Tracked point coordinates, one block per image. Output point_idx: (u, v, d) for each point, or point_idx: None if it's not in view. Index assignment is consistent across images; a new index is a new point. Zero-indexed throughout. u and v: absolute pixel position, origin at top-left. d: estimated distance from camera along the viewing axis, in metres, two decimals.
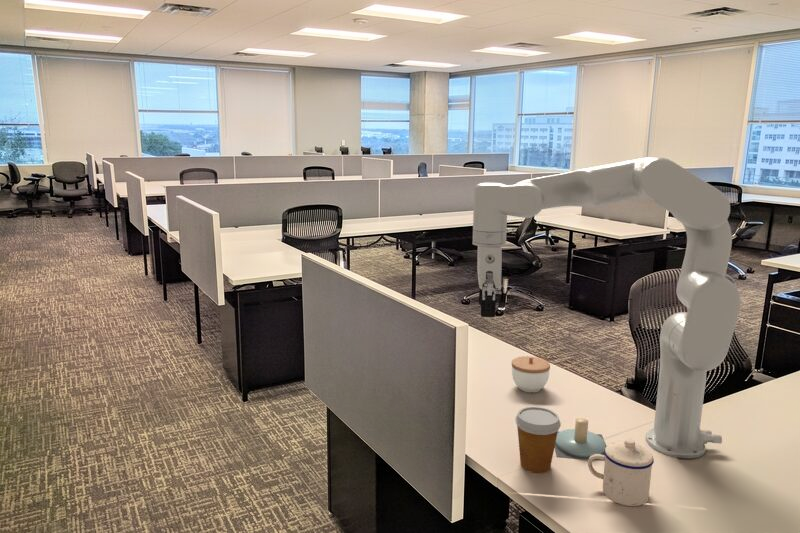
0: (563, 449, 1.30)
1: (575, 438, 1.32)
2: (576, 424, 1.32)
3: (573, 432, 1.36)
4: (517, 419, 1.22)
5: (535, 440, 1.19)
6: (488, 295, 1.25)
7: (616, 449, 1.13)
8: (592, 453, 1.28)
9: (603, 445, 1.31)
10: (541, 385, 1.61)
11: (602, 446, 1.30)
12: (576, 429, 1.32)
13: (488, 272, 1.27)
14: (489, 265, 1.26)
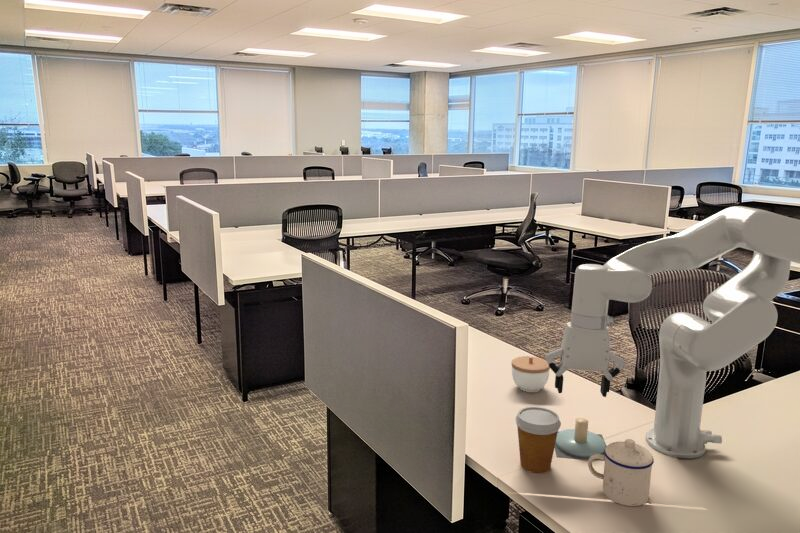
0: (563, 449, 1.30)
1: (575, 438, 1.32)
2: (576, 424, 1.32)
3: (573, 432, 1.36)
4: (517, 419, 1.22)
5: (535, 440, 1.19)
6: None
7: (616, 449, 1.13)
8: (592, 453, 1.28)
9: (603, 445, 1.31)
10: (541, 385, 1.61)
11: (602, 446, 1.30)
12: (576, 429, 1.32)
13: None
14: None
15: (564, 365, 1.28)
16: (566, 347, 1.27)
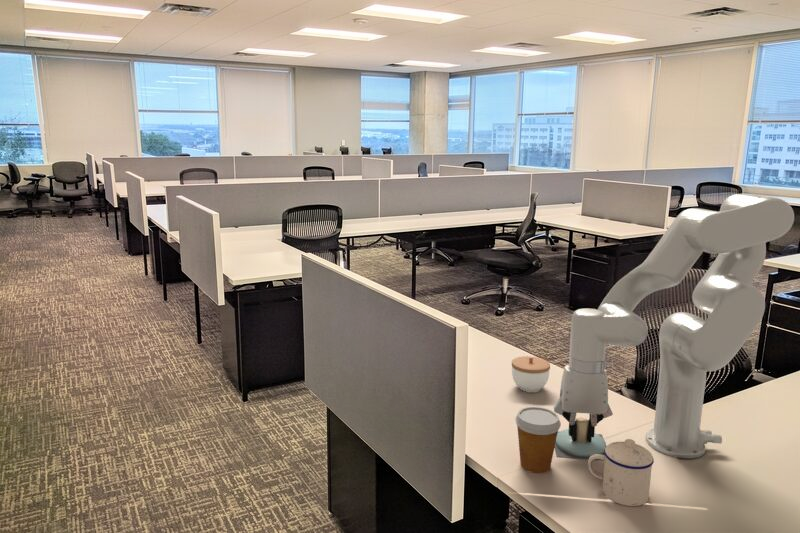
0: (564, 448, 1.30)
1: None
2: (576, 424, 1.32)
3: None
4: (517, 419, 1.22)
5: (535, 440, 1.19)
6: None
7: (616, 449, 1.13)
8: (593, 452, 1.28)
9: (603, 445, 1.31)
10: (541, 385, 1.61)
11: (602, 446, 1.30)
12: None
13: None
14: None
15: (563, 408, 1.30)
16: (565, 391, 1.29)
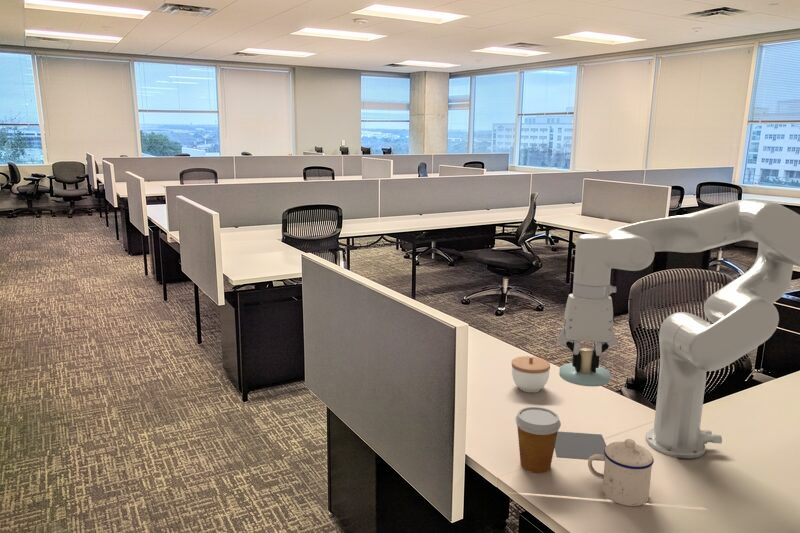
0: (567, 378, 1.26)
1: None
2: (580, 354, 1.28)
3: None
4: (517, 419, 1.22)
5: (535, 440, 1.19)
6: None
7: (616, 449, 1.13)
8: (597, 381, 1.24)
9: (608, 375, 1.27)
10: (541, 385, 1.61)
11: (607, 376, 1.27)
12: None
13: None
14: None
15: (567, 337, 1.26)
16: (569, 318, 1.25)
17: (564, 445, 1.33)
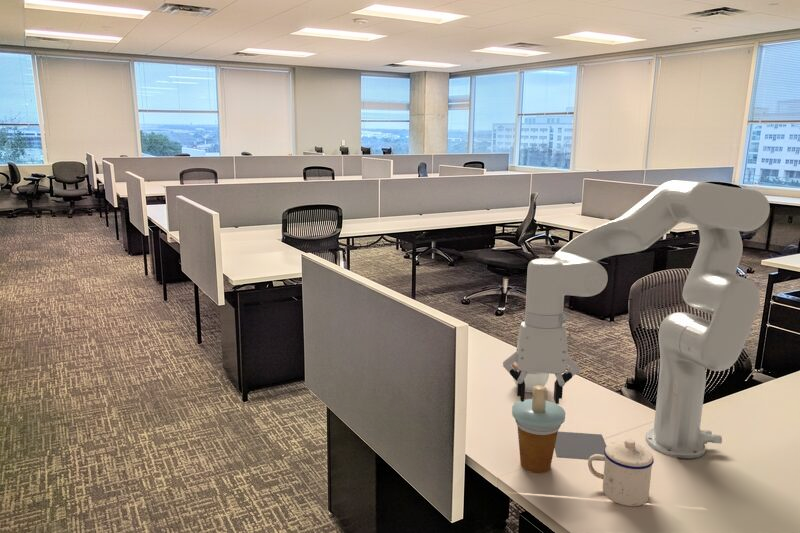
0: (519, 418, 1.19)
1: (533, 407, 1.22)
2: (533, 392, 1.21)
3: (531, 402, 1.26)
4: None
5: (535, 440, 1.19)
6: None
7: (616, 449, 1.13)
8: (550, 422, 1.17)
9: (562, 414, 1.20)
10: (541, 385, 1.61)
11: (561, 415, 1.20)
12: (533, 397, 1.21)
13: None
14: None
15: (519, 368, 1.19)
16: (520, 348, 1.18)
17: (564, 445, 1.33)
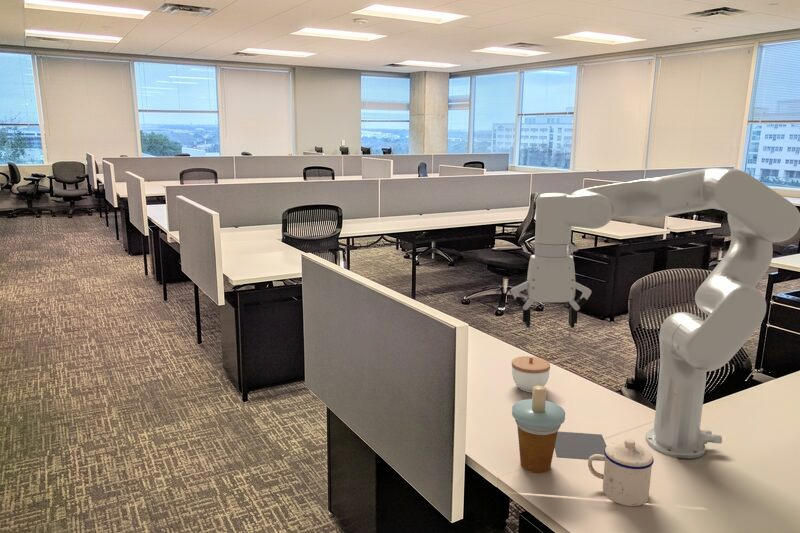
0: (519, 418, 1.19)
1: (532, 407, 1.22)
2: (533, 392, 1.21)
3: (531, 402, 1.26)
4: None
5: (535, 440, 1.19)
6: None
7: (616, 449, 1.13)
8: (550, 422, 1.17)
9: (562, 414, 1.20)
10: (541, 385, 1.61)
11: (561, 415, 1.20)
12: (533, 397, 1.21)
13: (574, 281, 1.26)
14: None
15: (530, 297, 1.26)
16: (531, 279, 1.25)
17: (564, 445, 1.33)
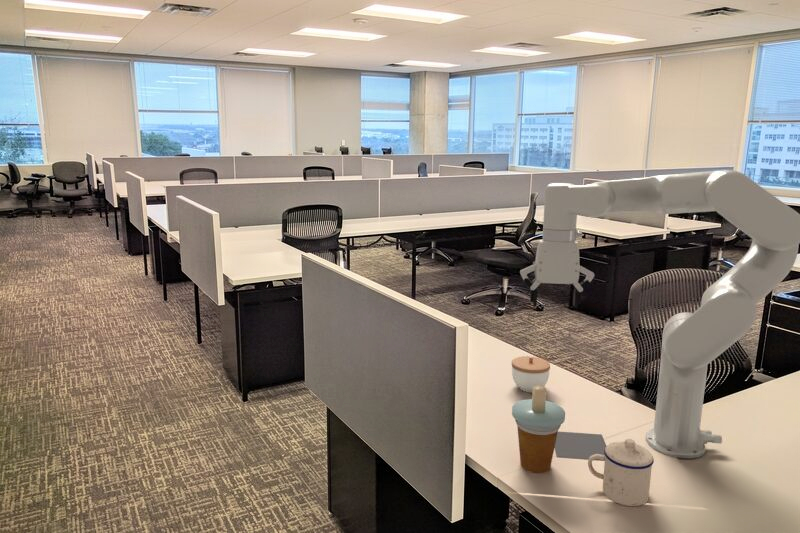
0: (519, 418, 1.19)
1: (532, 407, 1.22)
2: (533, 392, 1.21)
3: (531, 402, 1.26)
4: None
5: (535, 441, 1.19)
6: None
7: (616, 449, 1.13)
8: (550, 422, 1.17)
9: (562, 414, 1.20)
10: (541, 385, 1.61)
11: (561, 415, 1.20)
12: (533, 397, 1.21)
13: (579, 265, 1.36)
14: None
15: (537, 279, 1.37)
16: (539, 261, 1.36)
17: (564, 445, 1.33)
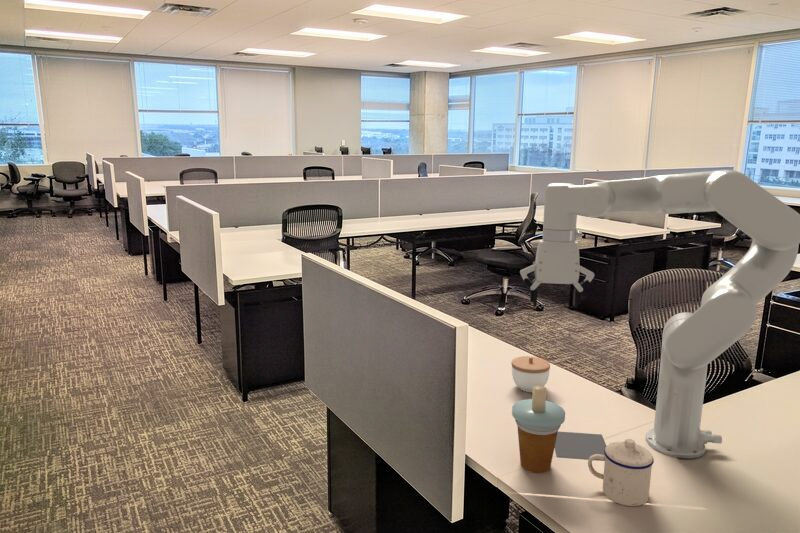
0: (519, 418, 1.19)
1: (533, 407, 1.22)
2: (533, 392, 1.21)
3: (531, 402, 1.26)
4: None
5: (535, 440, 1.19)
6: None
7: (616, 449, 1.13)
8: (550, 422, 1.17)
9: (562, 414, 1.20)
10: (541, 385, 1.61)
11: (561, 415, 1.20)
12: (533, 397, 1.21)
13: (579, 265, 1.36)
14: None
15: (537, 279, 1.37)
16: (539, 261, 1.36)
17: (564, 445, 1.33)
